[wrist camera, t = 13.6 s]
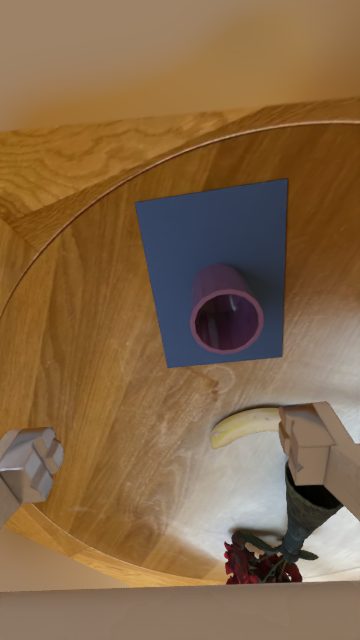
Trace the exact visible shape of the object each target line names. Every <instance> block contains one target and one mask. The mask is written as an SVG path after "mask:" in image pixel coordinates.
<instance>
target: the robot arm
mask: <svg viewBox="0 0 360 640" xmlns="http://www.w3.org/2000/svg"><path fill="white" fill-rule="evenodd" d="M279 416H280V419H281V421H280V422H279V423H278V431H279V438H280V442H281V445H282V448H283V451H284V453H285V454H286V455H288V456H289V464H288V465H289V468H290V471H291V474H292V476H293V479H294V482H295V485H324V486H325V487H326V488H327V489H328V490H329V491H330V492H331V493H332V494H333V495H334V496H335V497H336V498H337V499H338V500H339V501H340V502H341V503H342V504H343V505H344V506H345V507H346V508H347V509H348V510H349V511H350V512H351V513H352V514H353V515H354V516H355V517H356V518H357V519H358V520H359V521H360V444H355V443H354V441H353V440H352V438H351V436H350V435H349V433H348V432H347V430H346V429H345V427H344V426H343V424H342V423H341V421H340V419H339V418H338V416H337V415H336V413H335V412H334V410H333V409H332V407H331V406H330V404H329V403H328V402H316V403H304V404H294V405H285V406H280V407H279ZM55 435H56V433H55V431H54V429H53V428H52V427H42V428H26V429H14V430H10V431H8V432H7V433H5V435H4V436H3V438H2V439H1V440H0V528H1V527H2V526H3V525H4V524H5V523H6V522H7V520H8V519H9V518H10V517H11V516H12V515H13V514H14V513H15V512H16V511H17V509H18V508H19V507H20V506H21V504H24V503H34V502H45V500H46V498H47V496H48V493H49V491H50V489H51V487H52V484H53V482H54V481H53V475H54V474H55V473H56V472H57V471H58V470H59V468H60V466H61V464H62V461H63V454H64V451H63V446H62V444H61V442H60V441H58V440H57V439H55V438H54V437H55ZM0 640H360V581H329V582H298V583H267V584H236V585H205V586H174V587H143V588H112V589H81V590H51V591H20V592H0Z"/></svg>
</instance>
